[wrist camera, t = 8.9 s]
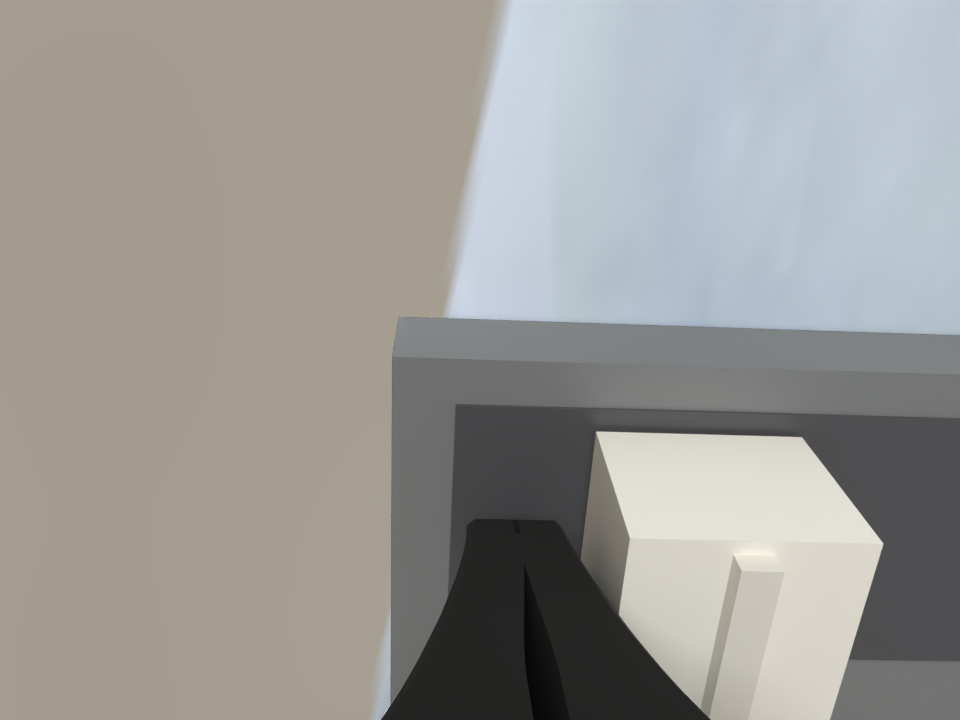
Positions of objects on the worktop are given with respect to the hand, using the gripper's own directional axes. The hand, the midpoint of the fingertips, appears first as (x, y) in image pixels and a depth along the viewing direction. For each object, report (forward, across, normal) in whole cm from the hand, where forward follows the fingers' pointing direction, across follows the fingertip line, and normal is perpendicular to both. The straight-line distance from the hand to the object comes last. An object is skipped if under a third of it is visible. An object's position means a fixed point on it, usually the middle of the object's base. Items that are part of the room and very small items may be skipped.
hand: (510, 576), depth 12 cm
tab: (+1, -3, 0) cm, 3 cm away
